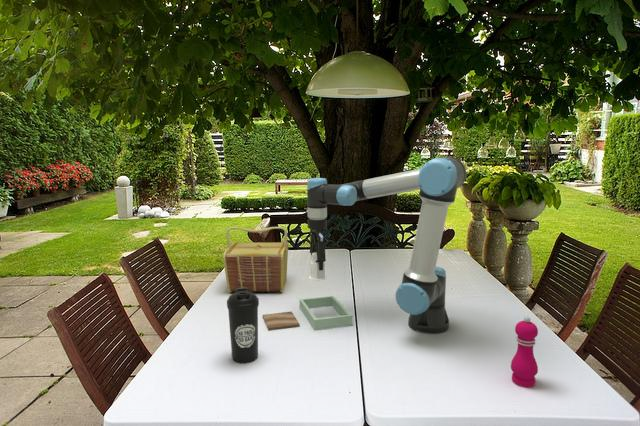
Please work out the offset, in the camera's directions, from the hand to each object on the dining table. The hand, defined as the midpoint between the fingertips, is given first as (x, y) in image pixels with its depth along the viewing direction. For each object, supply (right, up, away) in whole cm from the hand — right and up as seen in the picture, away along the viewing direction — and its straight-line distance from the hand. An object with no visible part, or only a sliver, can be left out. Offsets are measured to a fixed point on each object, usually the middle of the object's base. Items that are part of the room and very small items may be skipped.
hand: (317, 274), depth 184 cm
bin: (+3, -17, +3) cm, 18 cm away
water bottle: (-24, -23, -31) cm, 45 cm away
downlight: (0, -1, 0) cm, 2 cm away
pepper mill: (+60, -25, -48) cm, 81 cm away
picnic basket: (-29, -12, +41) cm, 51 cm away
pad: (-14, -18, -2) cm, 23 cm away
